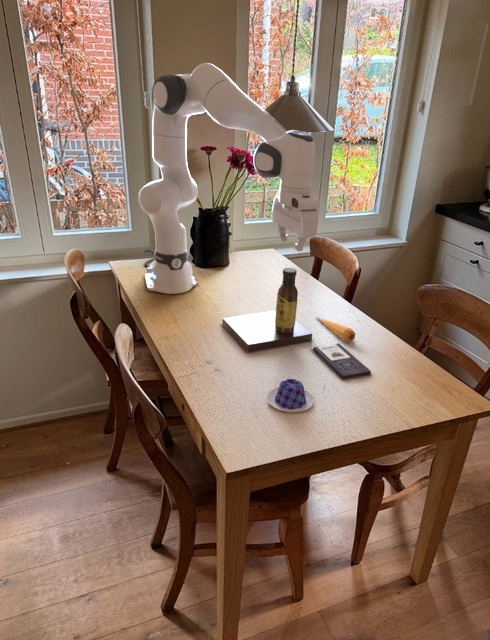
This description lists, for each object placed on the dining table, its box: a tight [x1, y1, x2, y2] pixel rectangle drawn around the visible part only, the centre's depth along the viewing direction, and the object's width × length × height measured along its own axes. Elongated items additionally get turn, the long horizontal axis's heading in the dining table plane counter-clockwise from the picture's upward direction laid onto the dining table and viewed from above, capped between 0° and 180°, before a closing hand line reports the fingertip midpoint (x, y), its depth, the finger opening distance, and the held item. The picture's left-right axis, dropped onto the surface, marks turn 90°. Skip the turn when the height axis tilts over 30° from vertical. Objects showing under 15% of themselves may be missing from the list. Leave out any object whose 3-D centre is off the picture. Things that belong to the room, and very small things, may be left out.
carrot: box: [317, 317, 356, 343], centre depth 174 cm, size 20×4×4 cm, turn 27°
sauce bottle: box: [275, 267, 299, 333], centre depth 162 cm, size 6×6×20 cm
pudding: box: [266, 378, 315, 413], centre depth 135 cm, size 12×12×5 cm
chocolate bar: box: [312, 342, 372, 380], centre depth 156 cm, size 9×1×18 cm
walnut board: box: [222, 309, 313, 353], centre depth 170 cm, size 20×22×2 cm
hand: (290, 245), depth 153 cm, fingers open, 8 cm apart
